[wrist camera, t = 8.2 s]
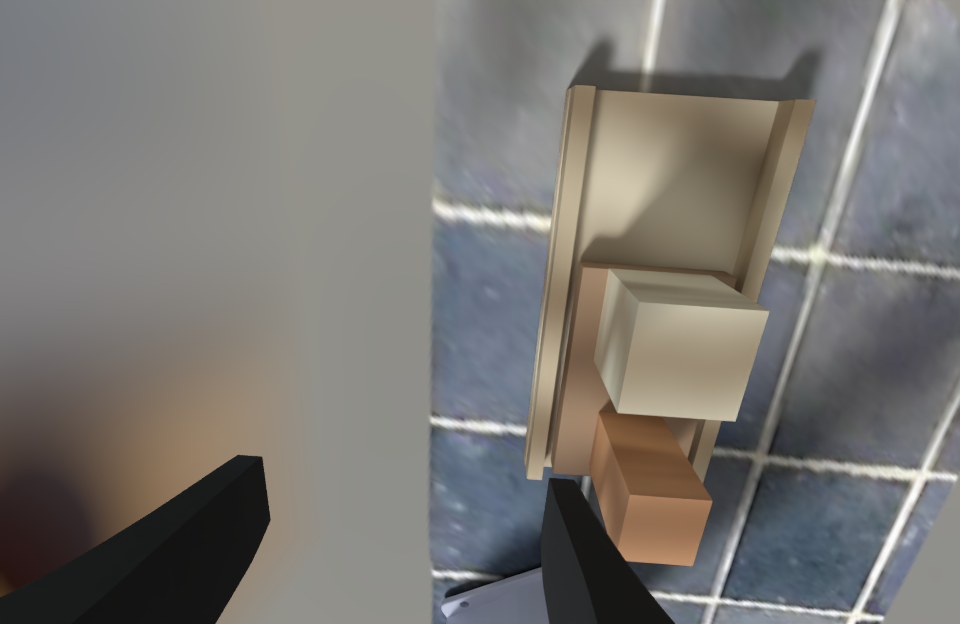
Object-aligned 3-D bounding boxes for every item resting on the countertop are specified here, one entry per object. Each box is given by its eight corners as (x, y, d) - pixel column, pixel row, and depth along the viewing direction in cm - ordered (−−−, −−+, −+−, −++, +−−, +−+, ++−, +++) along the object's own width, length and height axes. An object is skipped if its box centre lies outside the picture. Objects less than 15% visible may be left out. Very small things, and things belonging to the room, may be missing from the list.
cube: (688, 366, 19) (735, 421, 15) (593, 359, 19) (617, 412, 15) (711, 275, 18) (769, 311, 14) (608, 268, 18) (639, 302, 14)
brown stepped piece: (673, 468, 22) (733, 579, 16) (550, 459, 22) (569, 566, 16) (724, 271, 18) (824, 327, 13) (578, 261, 19) (614, 312, 13)
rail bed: (686, 466, 23) (701, 491, 21) (523, 454, 23) (525, 478, 22) (786, 104, 17) (817, 100, 15) (566, 90, 17) (574, 84, 16)
